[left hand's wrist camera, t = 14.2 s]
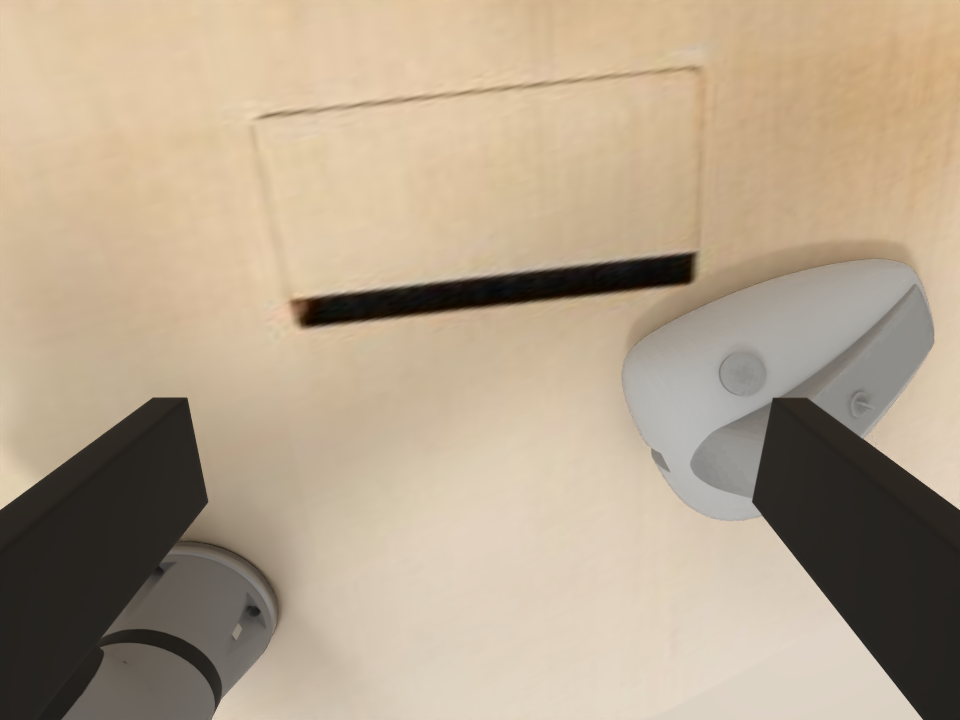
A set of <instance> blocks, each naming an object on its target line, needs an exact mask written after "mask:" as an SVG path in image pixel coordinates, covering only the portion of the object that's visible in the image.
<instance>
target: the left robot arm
mask: <svg viewBox="0 0 960 720" xmlns="http://www.w3.org/2000/svg"><path fill="white" fill-rule="evenodd" d="M207 503H208V498H207V493H206V488H205V483H204V479H203V474H202V469H201V464H200V459H199V454H198V449H197V444H196V439H195V434H194V429H193V424H192V419H191V414H190V409H189V404H188V399H187V398H152V399H151V400H149V401H148V402H146V403H145V404H144V405H142V406H141V407H140V408H138V409H137V410H136V411H134V412H133V413H132V414H130V415H129V416H127V417H126V418H125V419H123V420H122V421H121V422H119V423H118V424H117V425H115V426H114V427H113V428H111V429H110V430H108V431H107V432H106V433H104V434H103V435H102V436H100V437H99V438H98V439H96V440H95V441H94V442H92V443H91V444H89V445H88V446H87V447H85V448H84V449H83V450H81V451H80V452H79V453H77V454H76V455H75V456H73V457H72V458H70V459H69V460H68V461H66V462H65V463H64V464H62V465H61V466H60V467H58V468H57V469H56V470H54V471H53V472H51V473H50V474H49V475H47V476H46V477H45V478H43V479H42V480H41V481H39V482H38V483H36V484H35V485H34V486H32V487H31V488H30V489H28V490H27V491H26V492H24V493H23V494H22V495H20V496H19V497H17V498H16V499H15V500H13V501H12V502H11V503H9V504H8V505H7V506H5V507H4V508H3V509H1V510H0V720H212V717H213V715H214V713H215V711H216V709H217V707H218V705H219V703H220V701H221V699H222V698H223V697H224V695H225V694H226V693H227V692H228V691H229V690H230V689H231V688H232V687H233V686H234V685H235V684H236V682H237V681H238V680H239V679H240V678H241V677H242V676H243V675H244V674H245V673H246V672H247V671H248V669H249V668H250V667H251V666H252V665H253V664H254V663H255V662H256V661H257V660H258V658H259V657H260V656H261V655H262V654H263V652H264V651H265V649H266V648H267V646H268V644H269V642H270V639H271V637H272V635H273V632H274V630H275V627H276V624H277V619H278V607H277V601H276V598H275V595H274V593H273V590H272V588H271V587H270V585H269V583H268V582H267V580H266V579H265V578H264V577H263V575H262V574H261V573H260V572H259V571H258V570H257V569H256V568H255V567H254V566H252V565H251V564H250V563H249V562H247V561H246V560H244V559H243V558H241V557H240V556H238V555H236V554H234V553H232V552H230V551H228V550H225V549H223V548H220V547H217V546H213V545H209V544H204V543H197V542H177V541H178V540H179V539H180V537H181V536H182V535H183V533H184V532H185V531H186V530H187V528H188V527H189V526H190V525H191V523H192V522H193V521H194V519H195V518H196V517H197V516H198V514H199V513H200V512H201V511H202V509H203V508H204V507H205V506H206V504H207ZM752 503H753V504H754V506H755V507H756V508H757V509H758V511H759V512H760V513H761V514H762V516H763V517H764V518H765V519H766V521H767V522H768V523H769V525H770V526H771V527H772V528H773V530H774V531H775V532H776V533H777V535H778V536H779V537H780V539H781V540H782V541H783V542H784V544H785V545H786V546H787V547H788V549H789V550H790V551H791V553H792V554H793V555H794V556H795V558H796V559H797V560H798V561H799V563H800V564H801V565H802V566H803V568H804V569H805V570H806V572H807V573H808V574H809V575H810V577H811V578H812V579H813V580H814V582H815V583H816V584H817V586H818V587H819V588H820V589H821V591H822V592H823V593H824V594H825V596H826V597H827V598H828V600H829V601H830V602H831V603H832V605H833V606H834V607H835V608H836V610H837V611H838V612H839V613H840V615H841V616H842V617H843V619H844V620H845V621H846V622H847V624H848V625H849V626H850V627H851V629H852V630H853V631H854V633H855V634H856V635H857V636H858V638H859V639H860V640H861V641H862V643H863V644H864V645H865V646H866V648H867V649H868V650H869V652H870V653H871V654H872V655H873V657H874V658H875V659H876V660H877V662H878V663H879V664H880V666H881V667H882V668H883V669H884V671H885V672H886V673H887V674H888V676H889V677H890V678H891V680H892V681H893V682H894V683H895V685H896V686H897V687H898V688H899V690H900V691H901V692H902V694H903V695H904V696H905V697H906V699H907V700H908V701H909V702H910V704H911V705H912V706H913V707H914V709H915V710H916V711H917V713H918V714H919V715H920V716H921V718H922V719H923V720H960V510H959V509H957V508H956V507H955V506H953V505H952V504H951V503H949V502H948V501H947V500H945V499H944V498H943V497H941V496H940V495H938V494H937V493H936V492H934V491H933V490H932V489H930V488H929V487H928V486H926V485H925V484H924V483H922V482H921V481H919V480H918V479H917V478H915V477H914V476H913V475H911V474H910V473H909V472H907V471H906V470H904V469H903V468H902V467H900V466H899V465H898V464H896V463H895V462H894V461H892V460H891V459H890V458H888V457H887V456H885V455H884V454H883V453H881V452H880V451H879V450H877V449H876V448H875V447H873V446H872V445H871V444H869V443H868V442H866V441H865V440H864V439H862V438H861V437H860V436H858V435H857V434H856V433H854V432H853V431H852V430H850V429H849V428H847V427H846V426H845V425H843V424H842V423H841V422H839V421H838V420H837V419H835V418H834V417H833V416H831V415H830V414H828V413H827V412H826V411H824V410H823V409H822V408H820V407H819V406H818V405H816V404H815V403H814V402H812V401H811V400H809V399H808V398H773V399H772V404H771V409H770V414H769V419H768V424H767V429H766V434H765V439H764V444H763V449H762V454H761V459H760V464H759V469H758V474H757V479H756V483H755V488H754V493H753V498H752Z"/></svg>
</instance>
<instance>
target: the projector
mask: <svg viewBox="0 0 960 720" xmlns="http://www.w3.org/2000/svg"><path fill="white" fill-rule="evenodd" d="M933 344H934V325H933V318H932V315H931V311H930V307H929V303H928V300H927V297H926V294H925V291H924V288H923V285H922V283H921V281H920V279H919V277H918V275H917V273H916V272H915V271H914V270H913V268H912V267H910V266H909V265H907V264H904V263H901V262H898V261H894V260H889V259H864V260H855V261H848V262H841V263H835V264H830V265H825V266H820V267H815V268H810V269H806V270H802V271H798V272H795V273H791V274H787V275H784V276H780V277H777V278H773V279H770V280H767V281H764V282H761V283H758V284H756V285H753V286H750V287H747V288H744V289H742V290H739V291H736V292H734V293H732V294H729V295H727V296H724V297H722V298H719V299H717V300H715V301H712V302H710V303H708V304H706V305H703V306H701V307H699V308H697V309H695V310H693V311H691V312H688V313H686V314H684V315H682V316H680V317H678V318H676V319H674V320H673V321H671V322H669V323H667V324H665V325H663V326H662V327H660V328H658V329H657V330H655V331H653V332H652V333H650V334H649V335H647V336H646V337H644V338H643V339H642V340H640V341H639V342H638V343H637V344H636V345H635V346H633V348H632V349H631V350H630V351H629V352H628V354H627V356H626V358H625V360H624V363H623V368H622V385H623V390H624V394H625V398H626V401H627V404H628V407H629V410H630V412H631V415H632V417H633V420H634V422H635V424H636V426H637V428H638V430H639V432H640V434H641V436H642V438H643V440H644V442H645V443H646V444H647V445H648V446H649V447H650V448H651V454H652V457H653V459H654V461H655V463H656V465H657V467H658V469H659V470H660V472H661V474H662V475H663V477H664V479H665V480H666V482H667V483H668V485H669V486H670V487H671V489H672V490H673V491H674V492H675V494H676V495H677V496H678V497H679V498H680V499H681V500H682V501H683V502H684V503H685V504H686V505H688V506H689V507H690V508H692V509H694V510H695V511H697V512H699V513H701V514H703V515H705V516H708V517H710V518H714V519H718V520H725V521H739V520H747V519H751V518H756V517H759V516H762V514H761V513H760V512H759V511H758V509H757V508H756V507H755V506H754V504H753V503H752V498H753V493H754V488H755V483H756V479H757V474H758V469H759V464H760V459H761V454H762V449H763V444H764V439H765V434H766V429H767V424H768V419H769V414H770V409H771V404H772V399H773V398H808V399H809V400H811V401H812V402H814V403H815V404H816V405H818V406H819V407H820V408H822V409H823V410H824V411H826V412H827V413H828V414H830V415H831V416H833V417H834V418H835V419H837V420H838V421H839V422H841V423H842V424H843V425H845V426H846V427H847V428H849V429H850V430H852V431H853V432H854V433H856V434H857V435H858V436H860V437H861V438H862V439H864V438H865V437H866V436H867V435H868V434H869V432H870V431H871V430H872V429H873V428H874V426H875V425H876V424H877V423H878V422H879V420H880V419H881V418H882V417H883V416H884V415H885V413H886V412H887V411H888V410H889V408H890V407H891V406H892V404H893V403H894V402H895V401H896V399H897V398H898V397H899V395H900V394H901V393H902V391H903V390H904V389H905V388H906V386H907V385H908V383H909V382H910V381H911V379H912V378H913V376H914V375H915V373H916V372H917V371H918V369H919V368H920V366H921V365H922V363H923V362H924V360H925V358H926V357H927V355H928V353H929V351H930V349H931V348H932V346H933Z"/></svg>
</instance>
